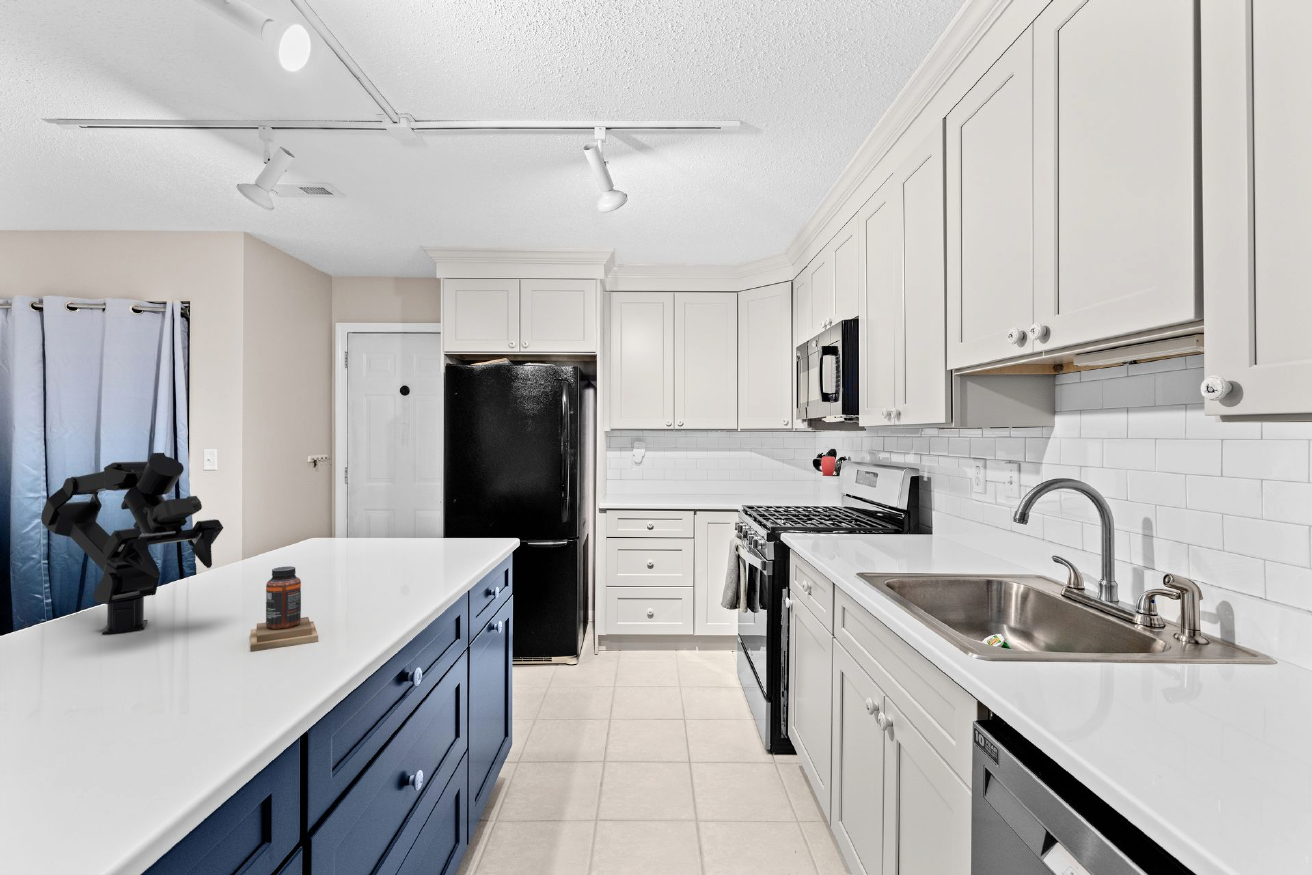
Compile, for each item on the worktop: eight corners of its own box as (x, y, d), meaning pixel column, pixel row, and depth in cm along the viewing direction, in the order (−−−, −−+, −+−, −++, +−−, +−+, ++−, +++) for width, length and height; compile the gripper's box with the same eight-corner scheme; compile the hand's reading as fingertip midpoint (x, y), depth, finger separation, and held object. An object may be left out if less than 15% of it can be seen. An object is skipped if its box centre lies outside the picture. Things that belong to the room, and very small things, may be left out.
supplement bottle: (306, 620, 126) (307, 564, 126) (292, 629, 120) (293, 571, 120) (274, 621, 126) (275, 565, 126) (259, 630, 120) (260, 571, 120)
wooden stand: (250, 635, 125) (250, 622, 125) (313, 626, 131) (313, 614, 131) (250, 651, 115) (250, 638, 115) (318, 641, 121) (318, 628, 121)
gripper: (112, 486, 114) (148, 551, 110) (218, 480, 131) (252, 536, 127) (87, 527, 117) (121, 592, 113) (194, 516, 134) (227, 572, 130)
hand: (185, 571), depth 121 cm, fingers open, 9 cm apart
